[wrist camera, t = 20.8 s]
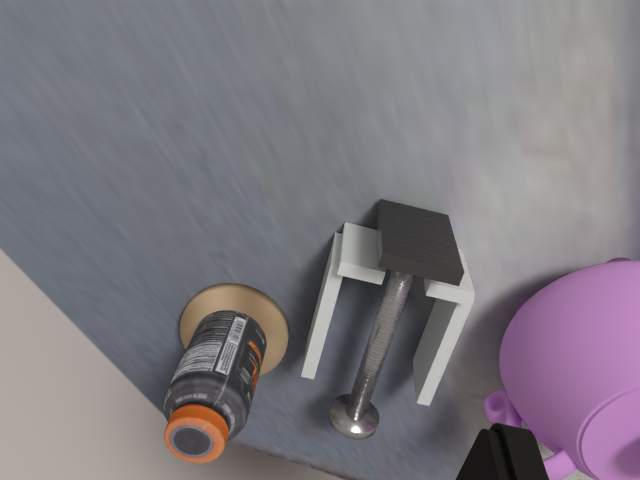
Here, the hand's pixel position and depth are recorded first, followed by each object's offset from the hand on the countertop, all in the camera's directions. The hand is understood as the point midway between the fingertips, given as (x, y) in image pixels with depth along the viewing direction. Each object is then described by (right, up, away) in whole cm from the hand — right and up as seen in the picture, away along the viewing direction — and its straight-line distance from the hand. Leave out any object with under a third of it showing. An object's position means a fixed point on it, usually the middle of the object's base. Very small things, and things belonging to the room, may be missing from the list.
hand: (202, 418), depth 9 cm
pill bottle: (-5, -5, +36) cm, 37 cm away
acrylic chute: (+7, -2, +34) cm, 35 cm away
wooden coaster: (-5, -4, +37) cm, 38 cm away
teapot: (+24, -3, +34) cm, 42 cm away
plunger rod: (+7, -2, +34) cm, 35 cm away
